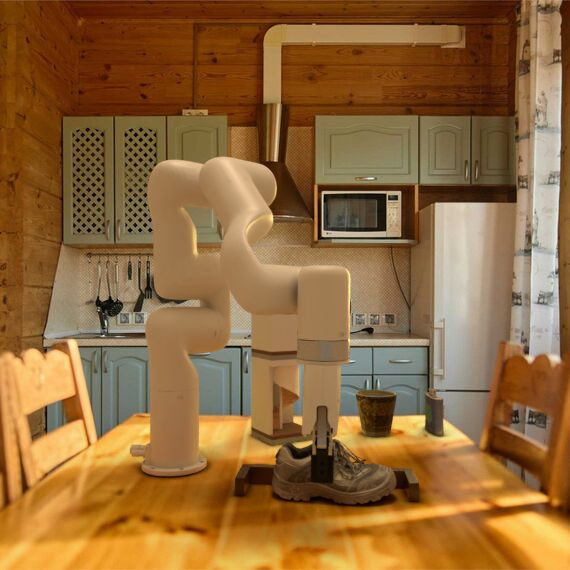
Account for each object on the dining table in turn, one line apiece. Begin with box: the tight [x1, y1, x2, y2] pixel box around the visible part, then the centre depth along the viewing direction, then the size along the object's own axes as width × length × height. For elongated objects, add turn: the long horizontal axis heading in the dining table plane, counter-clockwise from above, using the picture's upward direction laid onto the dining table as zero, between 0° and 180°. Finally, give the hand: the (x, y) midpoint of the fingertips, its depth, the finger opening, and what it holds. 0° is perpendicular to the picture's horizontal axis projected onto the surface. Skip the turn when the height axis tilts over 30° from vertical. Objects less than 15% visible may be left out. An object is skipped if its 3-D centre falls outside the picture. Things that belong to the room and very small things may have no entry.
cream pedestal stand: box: [250, 313, 313, 446], centre depth 130 cm, size 11×11×35 cm
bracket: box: [234, 463, 420, 503], centre depth 94 cm, size 31×8×3 cm, turn 85°
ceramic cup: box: [355, 389, 398, 438], centre depth 132 cm, size 13×10×10 cm
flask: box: [424, 388, 445, 437], centre depth 135 cm, size 9×3×11 cm, turn 2°
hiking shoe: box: [271, 438, 396, 505], centre depth 92 cm, size 9×21×12 cm
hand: (322, 480), depth 77 cm, fingers closed
